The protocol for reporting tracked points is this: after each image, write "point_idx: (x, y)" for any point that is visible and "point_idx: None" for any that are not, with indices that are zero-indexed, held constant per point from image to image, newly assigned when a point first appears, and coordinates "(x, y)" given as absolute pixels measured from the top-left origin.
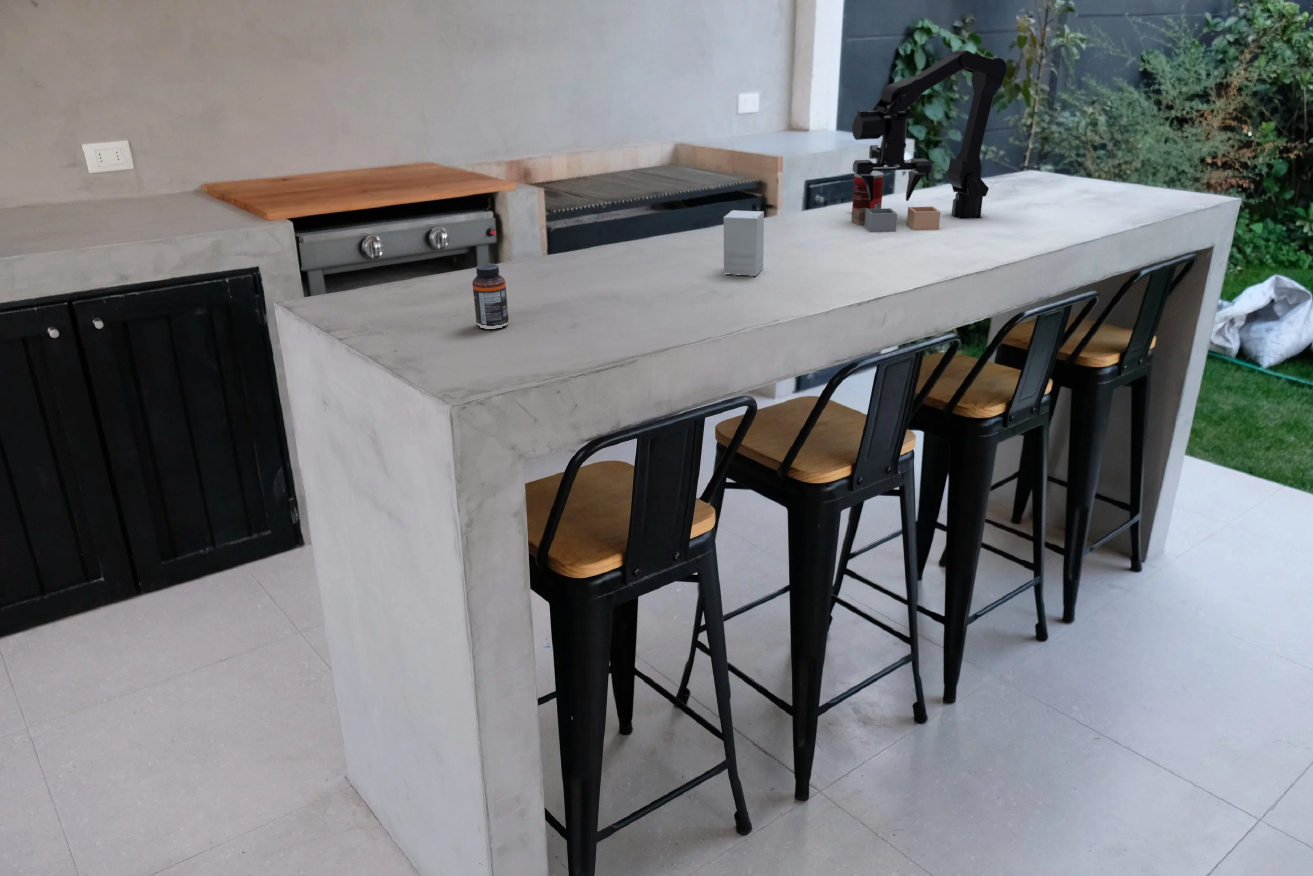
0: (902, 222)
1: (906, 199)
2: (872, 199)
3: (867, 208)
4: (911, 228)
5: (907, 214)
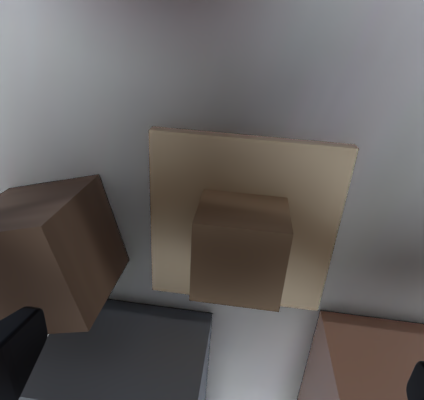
0: (359, 199)
1: (414, 386)
2: (33, 362)
3: (49, 253)
4: (301, 398)
5: (333, 377)
